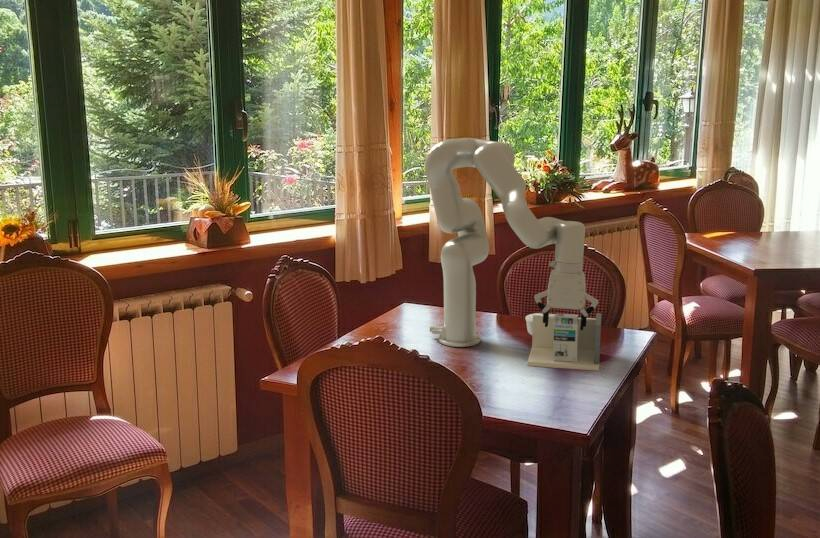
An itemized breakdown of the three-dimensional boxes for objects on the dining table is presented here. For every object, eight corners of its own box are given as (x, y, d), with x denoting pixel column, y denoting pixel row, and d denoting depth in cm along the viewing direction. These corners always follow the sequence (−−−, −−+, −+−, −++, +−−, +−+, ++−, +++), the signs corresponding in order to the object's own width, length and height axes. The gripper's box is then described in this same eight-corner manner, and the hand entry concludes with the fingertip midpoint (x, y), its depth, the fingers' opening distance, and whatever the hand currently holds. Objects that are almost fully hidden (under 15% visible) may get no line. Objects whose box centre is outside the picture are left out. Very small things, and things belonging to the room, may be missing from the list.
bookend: (593, 364, 214) (595, 324, 212) (594, 350, 226) (596, 313, 223) (599, 364, 214) (600, 325, 212) (599, 350, 225) (601, 313, 223)
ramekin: (566, 331, 248) (567, 315, 247) (555, 341, 239) (556, 324, 238) (532, 327, 254) (532, 311, 252) (520, 336, 244) (520, 319, 243)
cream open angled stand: (527, 365, 217) (528, 329, 215) (532, 348, 231) (533, 315, 229) (598, 370, 213) (600, 334, 211) (599, 353, 227) (601, 318, 225)
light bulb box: (577, 362, 216) (578, 324, 213) (552, 361, 217) (553, 323, 215) (577, 350, 226) (579, 313, 224) (553, 349, 227) (554, 312, 225)
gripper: (535, 267, 214) (531, 328, 218) (600, 272, 211) (595, 334, 215) (537, 261, 222) (533, 320, 226) (601, 266, 218) (596, 326, 222)
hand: (564, 327), depth 220 cm, fingers open, 9 cm apart
